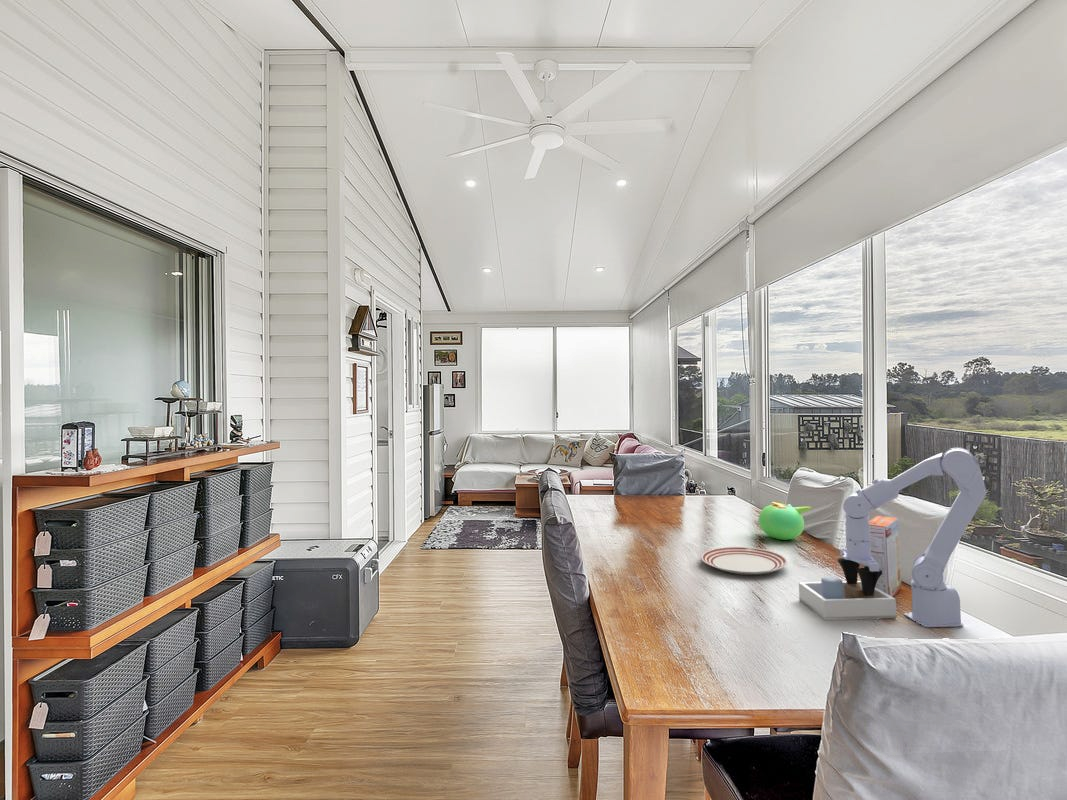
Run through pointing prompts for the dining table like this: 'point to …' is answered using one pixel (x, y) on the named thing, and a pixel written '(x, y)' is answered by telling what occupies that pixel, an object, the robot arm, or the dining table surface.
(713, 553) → the dinner plate
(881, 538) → the cracker box
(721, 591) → the dining table surface
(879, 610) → the tote
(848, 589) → the walnut cube
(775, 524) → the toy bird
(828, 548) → the dining table surface
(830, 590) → the blue cylinder
